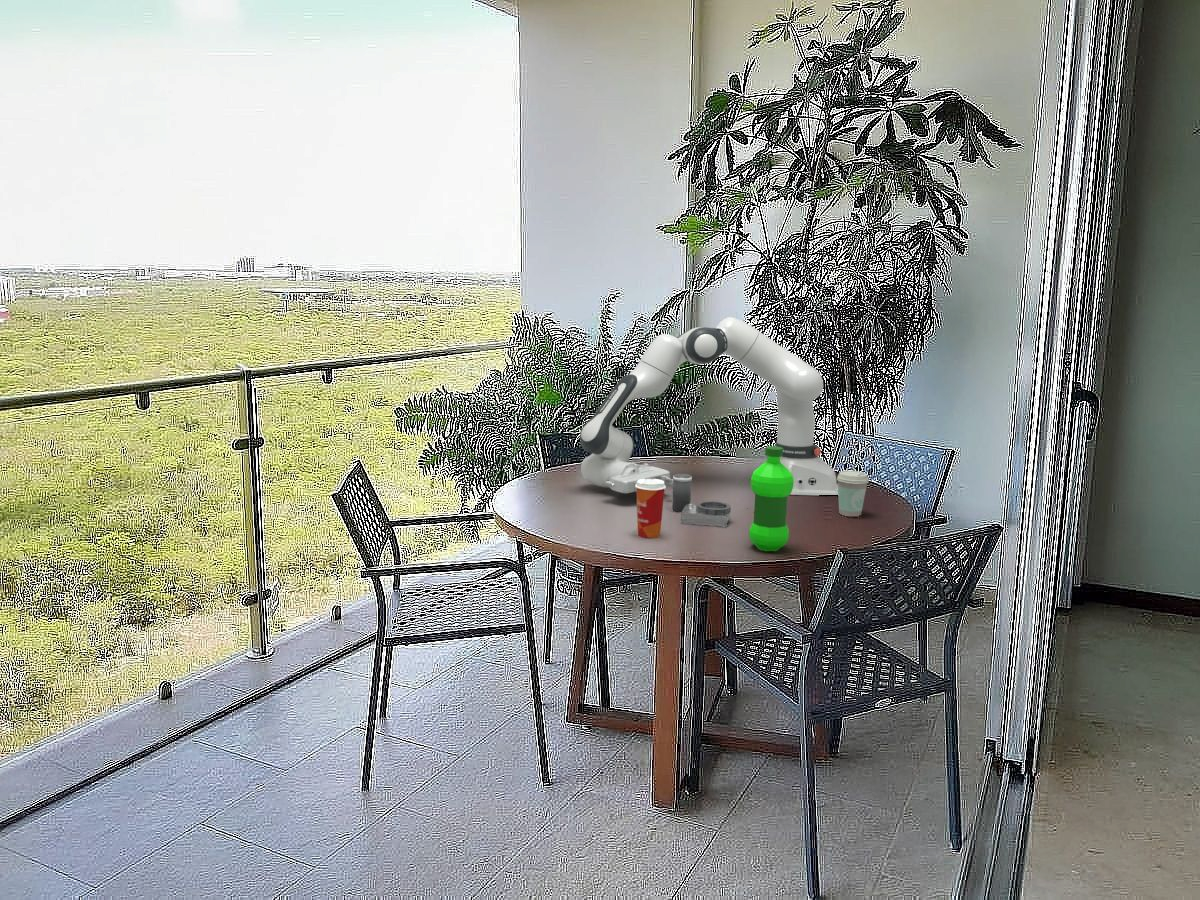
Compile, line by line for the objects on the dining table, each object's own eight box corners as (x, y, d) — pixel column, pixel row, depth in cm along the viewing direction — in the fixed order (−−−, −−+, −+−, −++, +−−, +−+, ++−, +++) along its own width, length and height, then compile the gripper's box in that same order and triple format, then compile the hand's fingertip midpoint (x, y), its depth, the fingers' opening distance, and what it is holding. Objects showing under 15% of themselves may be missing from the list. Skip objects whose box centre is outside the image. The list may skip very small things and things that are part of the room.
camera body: (731, 518, 252) (732, 502, 252) (727, 527, 244) (728, 510, 243) (685, 514, 255) (686, 499, 254) (680, 523, 247) (681, 507, 246)
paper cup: (632, 530, 239) (633, 477, 236) (661, 530, 239) (663, 477, 237) (635, 539, 231) (637, 485, 228) (666, 539, 232) (668, 485, 229)
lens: (691, 508, 262) (693, 474, 260) (688, 513, 257) (690, 478, 255) (673, 507, 263) (674, 473, 261) (670, 511, 258) (671, 476, 256)
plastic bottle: (795, 554, 222) (802, 452, 217) (751, 554, 221) (757, 451, 216) (783, 542, 232) (790, 444, 227) (742, 542, 231) (747, 443, 226)
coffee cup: (848, 520, 253) (852, 477, 251) (827, 513, 261) (830, 471, 258) (872, 517, 257) (875, 475, 255) (851, 510, 265) (854, 469, 262)
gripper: (601, 471, 266) (637, 480, 256) (648, 462, 280) (684, 469, 271) (601, 493, 267) (636, 502, 257) (647, 482, 281) (683, 490, 272)
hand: (661, 485), depth 264 cm, fingers open, 8 cm apart
